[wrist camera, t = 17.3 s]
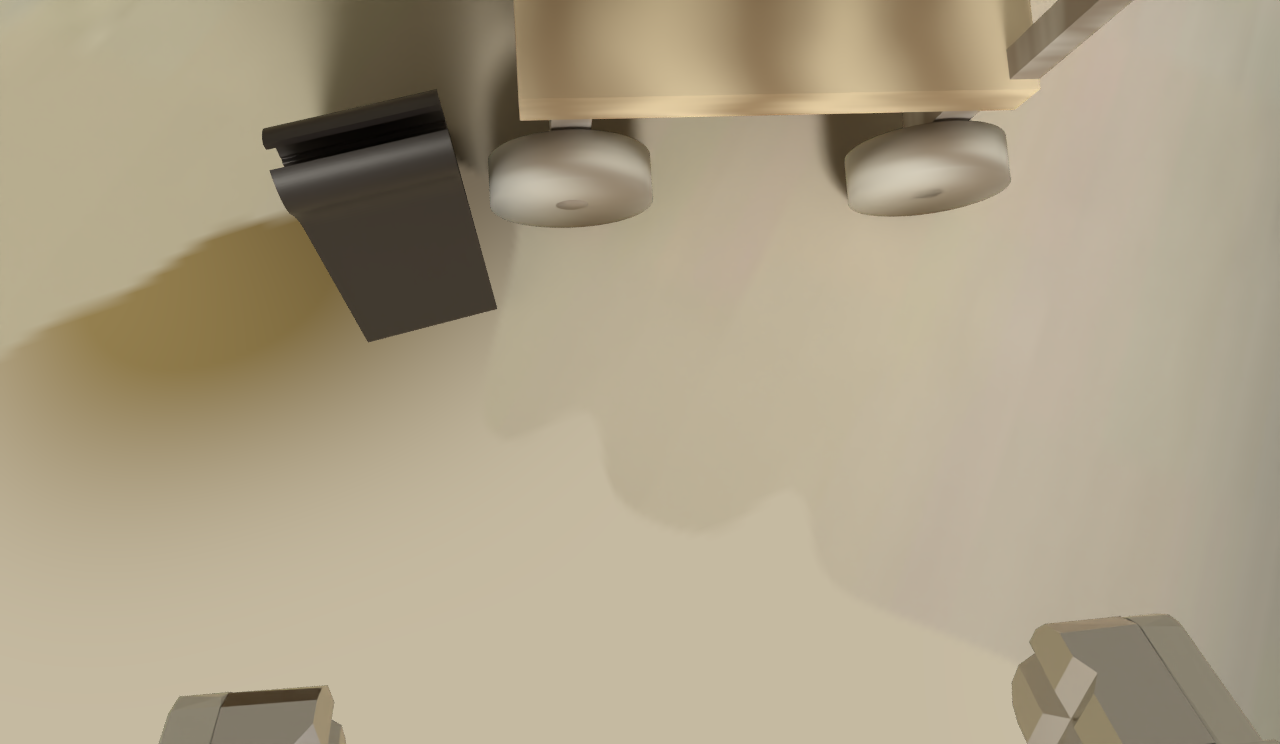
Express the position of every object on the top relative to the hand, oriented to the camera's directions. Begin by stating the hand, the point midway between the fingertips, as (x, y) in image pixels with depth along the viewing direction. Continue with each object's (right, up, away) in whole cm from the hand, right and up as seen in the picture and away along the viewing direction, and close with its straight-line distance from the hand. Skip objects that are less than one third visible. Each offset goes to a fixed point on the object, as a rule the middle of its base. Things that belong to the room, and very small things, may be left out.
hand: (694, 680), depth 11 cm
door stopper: (-11, +10, +32) cm, 35 cm away
